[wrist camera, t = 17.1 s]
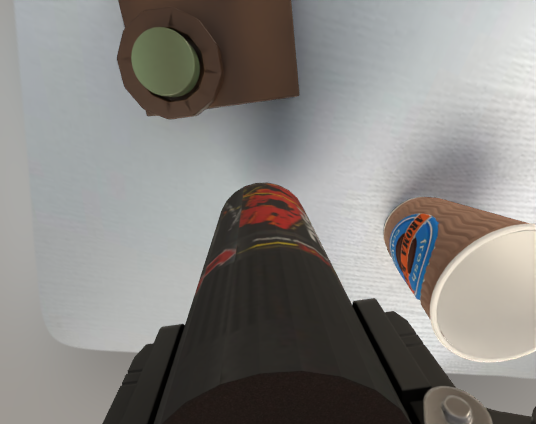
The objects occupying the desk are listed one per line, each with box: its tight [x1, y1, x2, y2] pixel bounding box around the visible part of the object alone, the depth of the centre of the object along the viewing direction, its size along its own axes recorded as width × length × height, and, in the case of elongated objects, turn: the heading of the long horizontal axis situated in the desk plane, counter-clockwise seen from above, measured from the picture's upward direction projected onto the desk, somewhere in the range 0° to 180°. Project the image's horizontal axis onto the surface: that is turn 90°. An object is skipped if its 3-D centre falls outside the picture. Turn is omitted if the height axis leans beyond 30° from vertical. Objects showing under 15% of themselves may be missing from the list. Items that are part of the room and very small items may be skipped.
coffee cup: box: [383, 197, 536, 362], centre depth 25 cm, size 10×10×12 cm
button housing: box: [117, 0, 299, 119], centre depth 22 cm, size 12×10×4 cm
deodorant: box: [154, 183, 412, 424], centre depth 14 cm, size 6×6×15 cm
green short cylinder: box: [131, 27, 200, 97], centre depth 20 cm, size 4×4×2 cm
